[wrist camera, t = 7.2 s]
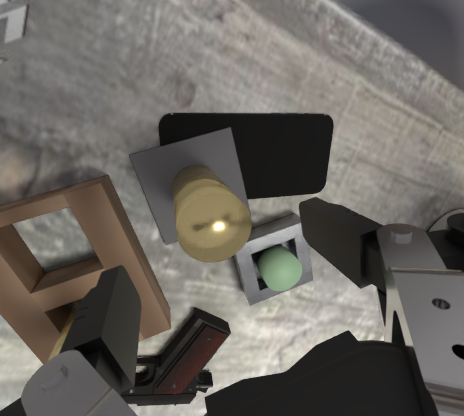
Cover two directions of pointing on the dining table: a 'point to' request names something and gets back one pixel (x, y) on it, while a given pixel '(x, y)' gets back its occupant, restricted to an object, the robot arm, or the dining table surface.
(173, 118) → the smartphone
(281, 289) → the button
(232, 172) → the mat
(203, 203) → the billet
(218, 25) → the dining table surface
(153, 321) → the brown wooden rectangular frame
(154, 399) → the handgun
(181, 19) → the dining table surface
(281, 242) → the button housing
